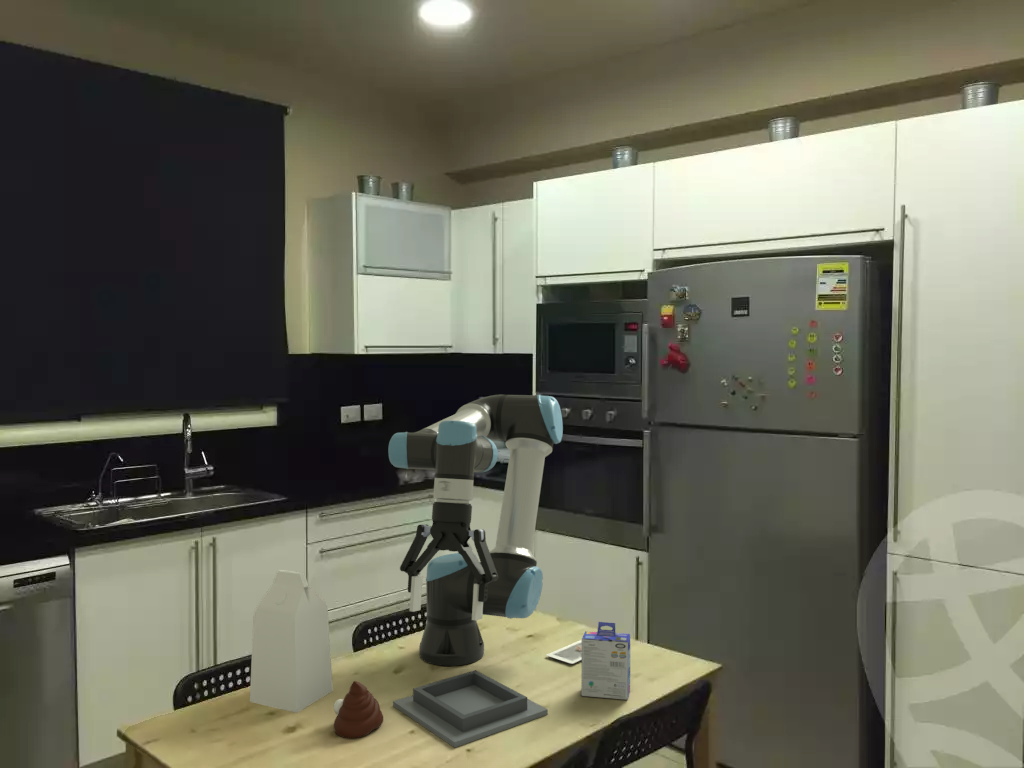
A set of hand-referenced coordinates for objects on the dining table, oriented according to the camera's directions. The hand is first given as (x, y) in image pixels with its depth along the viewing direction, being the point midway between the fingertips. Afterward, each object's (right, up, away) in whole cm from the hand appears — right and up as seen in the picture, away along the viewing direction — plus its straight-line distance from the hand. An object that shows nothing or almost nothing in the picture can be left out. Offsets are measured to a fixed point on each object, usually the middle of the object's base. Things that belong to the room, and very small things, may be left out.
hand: (445, 615), depth 157 cm
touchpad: (+28, -20, +39) cm, 52 cm away
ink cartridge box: (+32, -21, +16) cm, 42 cm away
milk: (-33, -21, +15) cm, 42 cm away
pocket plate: (+4, -21, +8) cm, 23 cm away
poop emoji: (-17, -22, +1) cm, 27 cm away
